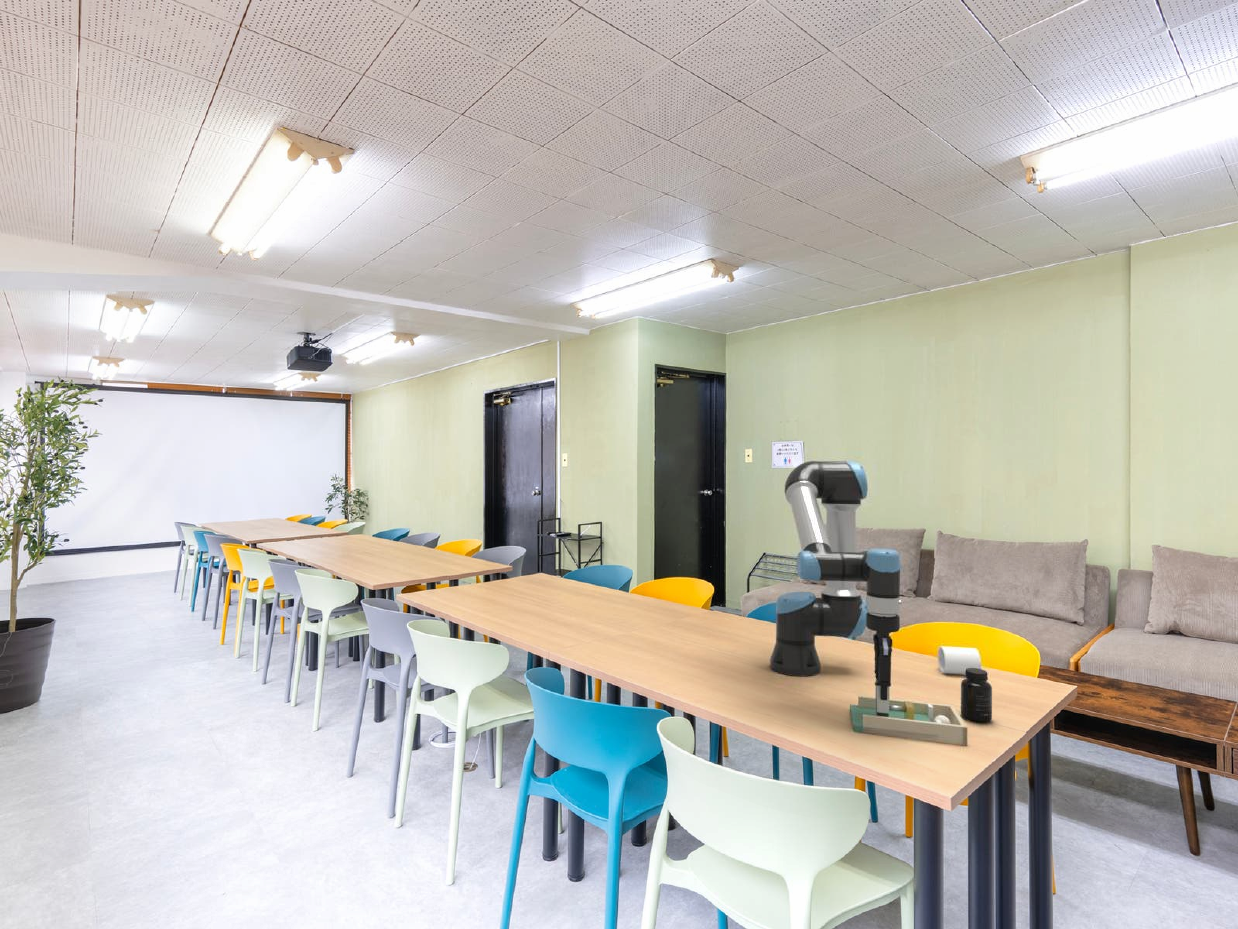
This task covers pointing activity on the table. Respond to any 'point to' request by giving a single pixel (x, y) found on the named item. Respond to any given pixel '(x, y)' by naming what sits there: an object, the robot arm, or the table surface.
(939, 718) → the ball
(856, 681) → the table surface
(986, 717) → the supplement bottle
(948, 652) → the mug
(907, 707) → the uneven dumbbell
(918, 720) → the pitch
